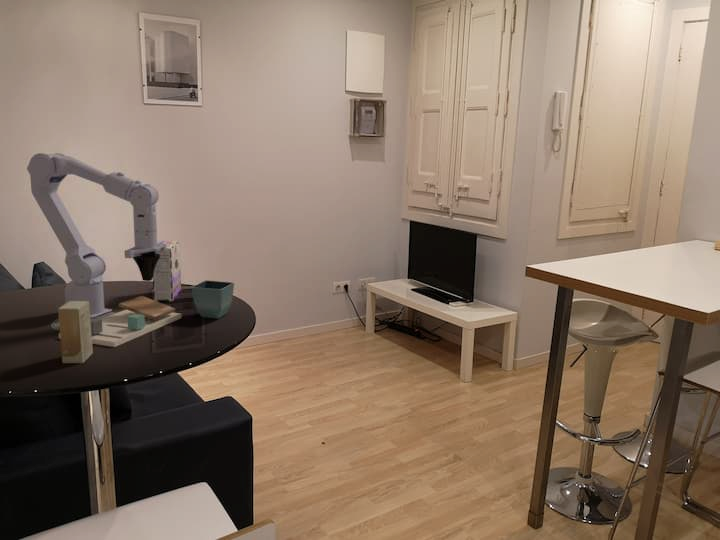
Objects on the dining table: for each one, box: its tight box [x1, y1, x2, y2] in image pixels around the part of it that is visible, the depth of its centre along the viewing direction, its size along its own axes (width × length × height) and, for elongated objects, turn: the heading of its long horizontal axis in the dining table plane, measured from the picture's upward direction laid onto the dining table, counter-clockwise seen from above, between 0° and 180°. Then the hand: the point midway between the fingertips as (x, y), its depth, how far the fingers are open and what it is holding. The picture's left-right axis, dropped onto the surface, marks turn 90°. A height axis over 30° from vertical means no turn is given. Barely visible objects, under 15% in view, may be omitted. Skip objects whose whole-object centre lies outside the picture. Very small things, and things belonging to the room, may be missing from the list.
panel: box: [58, 309, 182, 348], centre depth 148 cm, size 16×26×3 cm, turn 162°
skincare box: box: [57, 301, 94, 364], centre depth 124 cm, size 6×4×12 cm
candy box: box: [152, 240, 182, 302], centre depth 179 cm, size 14×6×16 cm, turn 6°
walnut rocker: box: [118, 295, 176, 320], centre depth 153 cm, size 11×9×1 cm
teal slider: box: [127, 314, 145, 330], centre depth 143 cm, size 3×3×3 cm
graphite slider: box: [90, 317, 103, 335], centre depth 138 cm, size 3×3×3 cm
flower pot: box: [191, 280, 235, 319], centre depth 159 cm, size 9×9×9 cm
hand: (147, 280), depth 158 cm, fingers closed
